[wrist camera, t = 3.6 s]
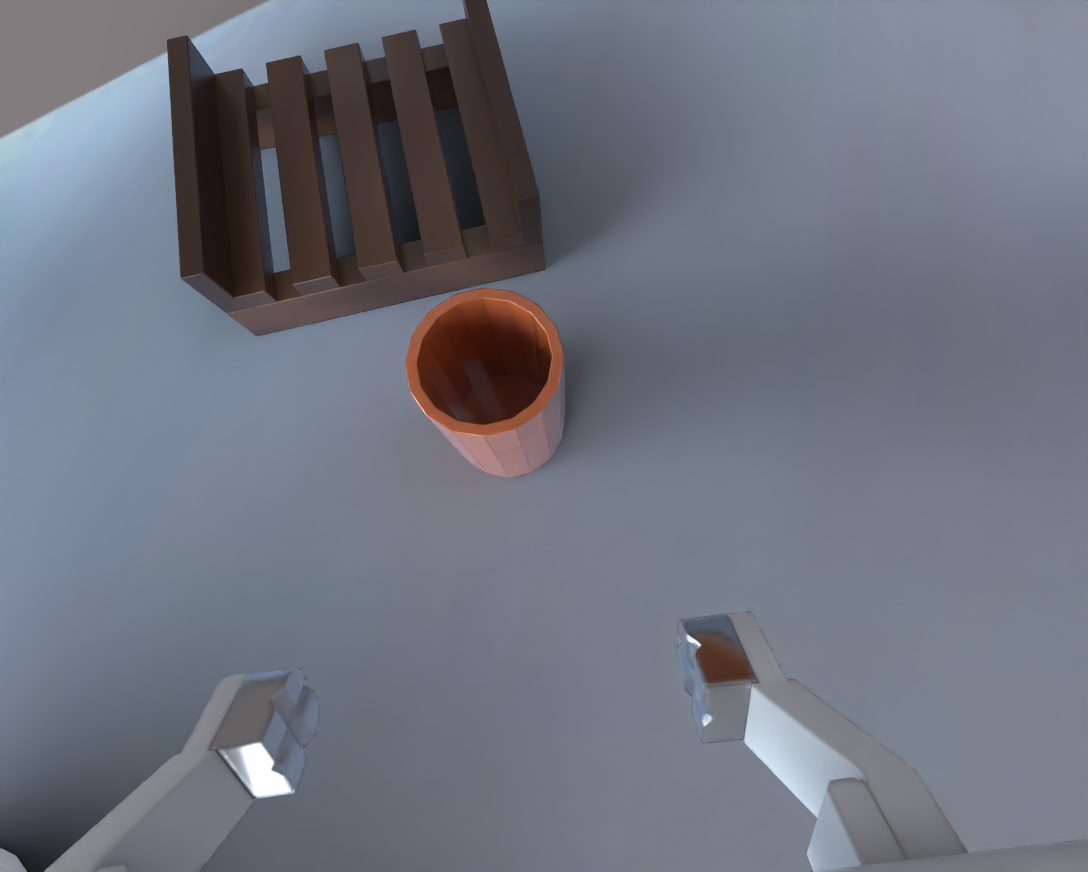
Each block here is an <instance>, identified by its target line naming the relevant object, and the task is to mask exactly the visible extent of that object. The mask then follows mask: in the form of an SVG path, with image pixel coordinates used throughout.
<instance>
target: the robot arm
mask: <svg viewBox="0 0 1088 872" xmlns="http://www.w3.org/2000/svg"><path fill="white" fill-rule="evenodd" d="M678 635H679V638H680V641H681V642H680V643H679V644H678V645H677V657H678V664H679V670H680V675H681V679H682V682H683V685H684V689H685V692H687V693H688V694H689V695H690V696H691V697H692V714H693V718H694V721H695V724H696V727H697V730H698V733H699V736H700V739H701V742H702V744H703V743H714V742H725V741H736V740H744V743H745V744H746V745H747V746H748V747H749V748H750V749H751V750H752V751H753V752H754V753H755V754H756V755H757V756H758V757H759V758H760V759H761V760H762V761H763V762H764V763H765V764H766V765H767V767H768V768H769V769H770V770H771V771H772V772H773V773H774V774H775V775H776V776H777V777H778V778H779V779H780V780H781V781H782V782H783V783H784V784H785V785H786V786H787V787H788V788H789V789H790V790H791V791H792V792H793V793H794V794H795V796H796V797H797V798H798V799H799V800H800V801H801V802H802V803H803V804H804V805H805V806H806V807H807V808H808V809H809V810H810V811H811V812H812V813H813V814H814V815H815V816H816V817H817V822H816V825H815V828H814V831H813V834H812V838H811V841H810V844H809V847H808V850H807V856H808V859H809V861H810V864H811V866H812V869H813V871H811V872H1088V839H1083V840H1074V841H1066V842H1057V843H1049V844H1040V845H1032V846H1023V847H1015V848H1006V849H998V850H989V851H981V852H972V853H968V851H967V850H966V848H965V847H964V845H963V844H962V842H961V840H960V839H959V837H958V836H957V834H956V832H955V831H954V829H953V828H952V826H951V825H950V823H949V821H948V820H947V818H946V817H945V815H944V814H943V812H942V810H941V809H940V807H939V806H938V804H937V803H936V801H935V799H934V798H933V796H932V795H931V793H930V792H929V790H928V788H927V787H926V785H925V784H924V782H923V781H922V779H921V777H920V776H919V774H918V773H917V771H916V770H915V768H914V767H912V766H911V765H910V764H908V763H907V762H906V761H904V760H903V759H902V758H900V757H899V756H897V755H896V754H895V753H893V752H892V751H891V750H889V749H888V748H887V747H885V746H884V745H883V744H881V743H880V742H879V741H877V740H876V739H875V738H873V737H872V736H870V735H869V734H868V733H866V732H865V731H864V730H862V729H861V728H860V727H858V726H857V725H856V724H854V723H853V722H852V721H850V720H849V719H847V718H846V717H845V716H843V715H842V714H841V713H839V712H838V711H837V710H835V709H834V708H833V707H831V706H830V705H829V704H827V703H826V702H825V701H823V700H822V699H820V698H819V697H818V696H816V695H815V694H814V693H812V692H811V691H810V690H808V689H807V688H806V687H804V686H803V685H802V684H800V683H799V682H797V681H796V680H795V679H791V680H787V679H786V677H785V675H784V673H783V671H782V669H781V667H780V665H779V663H778V661H777V659H776V657H775V655H774V653H773V651H772V650H771V648H770V646H769V644H768V642H767V640H766V638H765V636H764V634H763V632H762V630H761V628H760V626H759V624H758V622H757V620H756V618H755V616H754V615H753V614H752V613H751V612H750V611H746V612H738V613H731V614H718V615H711V616H704V617H697V618H690V619H682V620H679V622H678ZM305 680H306V676H305V674H304V673H303V671H302V670H301V668H295V669H285V670H274V671H264V672H254V673H244V674H236V675H227V676H226V677H225V678H224V679H223V680H221V681H220V682H219V684H218V686H217V687H216V689H215V691H214V693H213V695H212V697H211V699H210V700H209V702H208V704H207V706H206V708H205V710H204V712H203V714H202V715H201V717H200V719H199V721H198V723H197V725H196V727H195V728H194V730H193V732H192V734H191V736H190V738H189V740H188V741H187V743H186V745H185V747H184V749H183V751H182V753H181V754H177V755H173V756H172V757H171V758H170V759H169V760H168V761H166V762H165V763H164V764H163V765H162V766H161V767H160V768H159V769H157V770H156V771H155V772H154V773H153V774H152V775H151V776H150V777H149V778H147V779H146V780H145V781H144V782H143V783H142V784H141V785H140V786H139V787H137V788H136V789H135V790H134V791H133V792H132V793H131V794H130V795H129V796H127V797H126V798H125V799H124V800H123V801H122V802H121V803H120V804H118V805H117V806H116V807H115V808H114V809H113V810H112V811H111V812H110V813H108V814H107V815H106V816H105V817H104V818H103V819H102V820H101V821H100V822H98V823H97V824H96V825H95V826H94V827H93V828H92V829H91V830H89V831H88V832H87V833H86V834H85V835H84V836H83V837H82V838H81V839H79V840H78V841H77V842H76V843H75V844H74V845H73V846H72V847H71V848H69V849H68V850H67V851H66V852H65V853H64V854H63V855H62V856H60V857H59V858H58V859H57V860H56V861H55V862H54V863H53V864H52V865H50V866H49V867H48V868H47V869H46V870H45V871H44V872H199V871H200V870H201V868H202V867H203V866H204V865H205V863H206V862H207V861H208V860H209V858H210V857H211V856H212V855H213V853H214V852H215V851H216V849H217V848H218V847H219V846H220V844H221V843H222V842H223V841H224V839H225V838H226V837H227V836H228V834H229V833H230V832H231V831H232V829H233V828H234V827H235V826H236V824H237V823H238V822H239V820H240V819H241V818H242V817H243V815H244V814H245V813H246V812H247V810H248V809H249V808H250V807H251V805H252V804H253V803H254V800H253V799H258V798H265V797H271V796H278V795H285V794H291V793H296V790H297V787H298V784H299V781H300V778H301V775H302V772H303V769H304V765H305V762H306V759H307V758H306V755H305V753H304V750H303V748H304V747H305V746H306V745H307V744H308V743H309V742H310V740H311V739H312V738H313V737H314V735H315V732H316V728H317V725H318V719H319V703H318V698H317V696H316V694H315V692H314V690H312V689H310V688H308V687H306V686H304V683H305Z"/></svg>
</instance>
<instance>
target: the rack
mask: <svg viewBox="0 0 1088 872" xmlns="http://www.w3.org/2000/svg"><path fill="white" fill-rule="evenodd" d="M463 6H464V11H465V17H466V19H461V20H457V21H452V22H448V23H443V24H440V25H439V27H440V31H441V35H442V39H443V44H440V45H436V46H431V47H427V48H422V49H421V46H420V42H419V39H418V35H417V32H416V30H412V31H407V32H403V33H398V34H394V35H389V36H385V37H382V42H383V47H384V52H385V57H382V58H378V59H373V60H369V61H365V59H364V56H363V54H362V51H361V48H360V46H359V44H358V43H355V44H350V45H346V46H341V47H337V48H332V49H328V50H325V51H324V53H325V59H326V66H327V70H324V71H319V72H315V73H311V74H309V71H308V69H307V67H306V65H305V64H304V62H303V60H302V58H301V56H295V57H290V58H286V59H282V60H277V61H273V62H268V63H266V68H267V76H268V83H266V84H261V85H257V86H253V84H252V83H251V81H250V80H249V78H248V77H247V75H246V74H245V72H244V71H243V69H237V70H233V71H228V72H224V73H219V74H214V73H213V71H212V70H211V68H210V67H209V66H208V64H207V63H206V61H205V60H204V59H203V57H202V56H201V54H200V53H199V51H198V50H197V49H196V47H195V46H194V44H193V43H192V42H191V40H190V39H189V37H188V36H182V37H177V38H173V39H168V40H167V50H168V67H169V84H170V102H171V119H172V137H173V154H174V172H175V189H176V206H177V224H178V241H179V259H180V276H181V279H182V280H183V281H185V282H186V283H187V284H189V285H190V286H191V287H193V288H194V289H195V290H196V291H198V292H199V293H200V294H202V295H203V296H204V297H206V298H207V299H208V300H210V301H211V302H212V303H214V304H215V305H216V306H218V307H219V308H220V309H222V310H223V311H224V312H226V313H227V314H228V315H229V316H231V317H232V318H233V319H235V320H236V321H237V322H239V323H240V324H241V325H242V326H244V327H245V328H246V329H248V330H249V331H250V332H252V333H253V334H254V335H256V336H259V335H264V334H268V333H272V332H277V331H281V330H285V329H290V328H294V327H298V326H303V325H307V324H311V323H316V322H320V321H324V320H329V319H333V318H337V317H342V316H346V315H350V314H355V313H359V312H363V311H368V310H372V309H376V308H381V307H385V306H389V305H394V304H398V303H402V302H407V301H411V300H415V299H420V298H424V297H428V296H432V295H437V294H441V293H445V292H450V291H454V290H458V289H463V288H467V287H471V286H476V285H480V284H484V283H489V282H493V281H497V280H502V279H506V278H510V277H515V276H519V275H523V274H528V273H532V272H536V271H541V270H545V261H544V247H543V235H542V221H541V208H540V196H539V192H538V188H537V185H536V181H535V177H534V174H533V170H532V166H531V163H530V159H529V155H528V152H527V148H526V144H525V141H524V137H523V133H522V129H521V126H520V122H519V118H518V115H517V111H516V107H515V104H514V100H513V96H512V93H511V89H510V85H509V82H508V78H507V74H506V71H505V67H504V63H503V60H502V56H501V52H500V49H499V45H498V41H497V38H496V34H495V30H494V27H493V23H492V19H491V16H490V12H489V8H488V5H487V1H486V0H463ZM457 105H458V107H459V111H460V115H461V120H462V124H463V128H464V132H465V137H466V141H467V145H468V149H469V154H470V158H471V162H472V166H473V170H474V175H475V179H476V183H477V187H478V192H479V196H480V200H481V204H482V208H483V213H484V217H485V221H486V225H481V226H477V227H473V228H468V229H464V230H461V226H460V221H459V217H458V212H457V208H456V203H455V199H454V194H453V190H452V185H451V181H450V176H449V172H448V167H447V163H446V158H445V154H444V149H443V145H442V140H441V136H440V131H439V127H438V122H437V118H436V113H435V110H439V109H443V108H448V107H452V106H457ZM394 119H398V123H399V128H400V134H401V139H402V144H403V149H404V154H405V159H406V164H407V169H408V174H409V179H410V184H411V189H412V194H413V199H414V205H415V210H416V215H417V220H418V225H419V230H420V235H421V239H420V240H416V241H412V242H407V243H403V244H399V242H398V236H397V231H396V225H395V220H394V215H393V209H392V204H391V198H390V193H389V187H388V182H387V177H386V171H385V166H384V160H383V155H382V149H381V144H380V138H379V133H378V128H377V123H381V122H386V121H390V120H394ZM332 133H337V135H338V141H339V148H340V154H341V160H342V167H343V173H344V179H345V186H346V192H347V198H348V205H349V211H350V217H351V224H352V230H353V236H354V242H355V249H356V254H355V255H350V256H346V257H342V258H336V252H335V245H334V238H333V231H332V224H331V218H330V211H329V204H328V197H327V190H326V183H325V177H324V170H323V163H322V156H321V149H320V143H319V136H323V135H328V134H332ZM275 146H276V151H277V159H278V168H279V176H280V184H281V193H282V201H283V209H284V218H285V226H286V234H287V243H288V251H289V259H290V268H291V269H289V270H285V271H281V272H276V273H274V271H273V262H272V253H271V244H270V235H269V225H268V216H267V207H266V198H265V189H264V180H263V171H262V162H261V153H260V150H261V149H266V148H270V147H275Z"/></svg>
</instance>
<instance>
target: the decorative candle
mask: <svg viewBox="0 0 1088 872" xmlns="http://www.w3.org/2000/svg"><path fill="white" fill-rule="evenodd" d="M0 872H27V871H26V869H25V868H24V866H23V865H22V864H21V862H20V861H19V859H18V858H17V856H16V855H14V854H12V853H10V852H8V851H6V850H4V849H2V848H0Z"/></svg>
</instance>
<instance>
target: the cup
mask: <svg viewBox="0 0 1088 872" xmlns="http://www.w3.org/2000/svg"><path fill="white" fill-rule="evenodd" d="M405 366H406V372H407V378H408V383H409V389H410V392H411V394H412V396H413V397H414V398H415V400H416V401H417V403H418V404H419V406H420V407H421V409H422V410H423V412H424V413H425V414H426V416H427V417H428V418H429V419H430V420H431V421H432V422H433V423H434V425H435V426H436V427H437V428H438V429H439V430H440V431H441V432H442V433H443V434H444V436H445V437H446V438H447V439H448V440H449V441H450V442H451V443H452V444H453V446H454V447H455V448H456V449H457V450H458V451H459V452H460V453H461V454H462V455H463V457H464V458H465V459H466V460H467V461H468V462H470V463H471V464H472V465H474V466H475V467H477V468H478V469H480V470H481V471H483V472H485V473H488V474H491V475H494V476H499V477H516V476H521V475H525V474H528V473H530V472H532V471H535V470H536V469H538V468H540V467H541V466H542V465H544V464H545V463H546V462H547V461H548V460H549V459H550V458H551V457H552V456H553V454H554V453H555V452H556V450H557V448H558V446H559V444H560V442H561V439H562V436H563V432H564V422H565V377H564V352H563V348H562V345H561V341H560V337H559V333H558V329H557V328H556V326H555V325H554V323H553V322H552V321H551V320H550V318H549V317H548V316H547V315H546V313H545V312H544V311H543V310H542V308H541V307H540V306H539V305H537V304H536V303H534V302H532V301H530V300H528V299H526V298H525V297H523V296H521V295H519V294H517V293H515V292H513V291H506V290H499V289H491V288H480V289H476V290H471V291H467V292H463V293H458V294H455V295H453V296H451V297H450V298H448V299H447V300H445V301H444V302H442V303H441V304H439V305H438V306H436V307H435V308H433V309H431V310H430V311H429V312H428V313H427V315H426V316H425V318H424V319H423V320H422V322H421V323H420V324H419V326H418V327H417V329H416V330H415V331H414V333H413V335H412V337H411V341H410V345H409V349H408V353H407V357H406V361H405Z"/></svg>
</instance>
